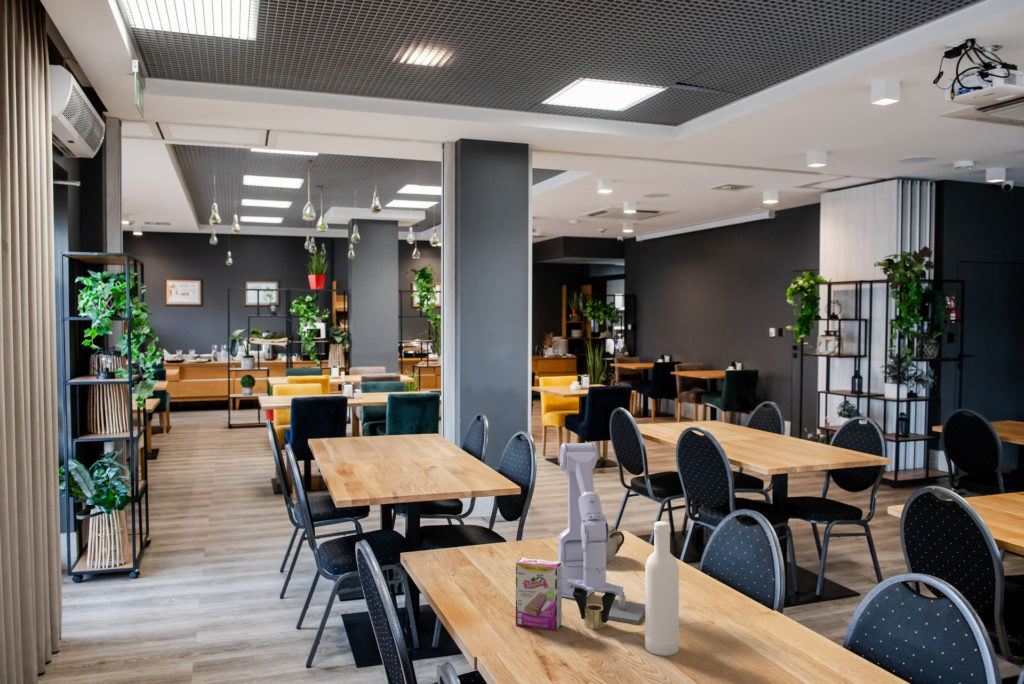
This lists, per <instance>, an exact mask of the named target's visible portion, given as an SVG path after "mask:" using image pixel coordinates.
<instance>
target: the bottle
mask: <svg viewBox="0 0 1024 684" xmlns="http://www.w3.org/2000/svg"><path fill="white" fill-rule="evenodd" d="M653 525H654V526H653V531H654V532H653V536H654V537H653V542H654V543H653V548H654V549H653V550H654V551H653V552H652V553H651V554H650V555H649V556H648V557H647V559H646V563H645V567H644V568H645V569H644V570H645V571H644V573H645V574H644V577H645V579H644V583H645V584H644V586H645V587H644V589H645V591H644V594H645V595H644V596H645V597H644V598H645V599H644V600H645V601H644V602H645V603H644V604H645V616H644V622H645V623H644V626H645V627H644V648H645V650H646V651H647V652H648V653H650V654H653V655H655V656H663V657H667V656H673V655H676V654H677V653H678V652H679V650H680V649H679V648H680V647H679V645H680V637H679V635H680V631H679V629H680V627H679V626H680V625H679V622H680V618H679V617H680V614H679V613H680V612H679V611H680V602H679V601H680V599H679V598H680V597H679V595H680V568H679V564H678V561H677V559H676V557H675V556H674V555H673V554H672V553H671V546H670V545H671V530H672V529H671V524H670V523H669V522H668V521H662V520H661V521H660V520H659V521H658V520H657V521H655V522H654V524H653Z"/></svg>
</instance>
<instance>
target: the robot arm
mask: <svg viewBox="0 0 1024 684" xmlns="http://www.w3.org/2000/svg"><path fill="white" fill-rule="evenodd" d="M598 455H599V454H598V447H597V445H596V443H595V442H593V441H592V442H581V443H580V442H577V443H575V442H574V443H573V442H571V443H566V442H563V443H561V445H560V447H559V467H560V470H561V471H564V472H565V474H566V483H567V484H566V485H567V486H566V487H567V488H566V489H567V492H566V493H567V528H565V529H564V530H563V531H561V533H560V534H558V538H557V545H556V547H557V548H556V549H557V550H556V551H557V552H556V553H557V557H558V560H557V562H562V598H569V599H574V600H575V602H576V604H577V607H578V610H579V614H580V618H581V619H582V620H584V607H585V606H586V605H588V604H587V599H588V597H590V595H591V594H592V593H593V592H594V593H595V592H596V593H600V594H603V595H602V596H601V605H602V604H603V623H605V624H607V622H608V621H609V620H608V617H609V612H610V609H611V606H612V603H613V601H614V599H615V598H616V597H618V598H619V597H621V596H622V595H623V592H624V586H620V585H616V584H614V583H610V582H607V563H606V543H605V541H606V542H608V540H609V527H608V525H609V523H608V520H607V519H606V515H604V514H603V508H602V505H601V504H602V502H601V498H600V495H598V494H597V493H595V485H594V474H593V470H594V469H595V468H596V466H597V462H598V458H599V457H598ZM615 600H616V599H615Z"/></svg>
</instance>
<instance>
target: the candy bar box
mask: <svg viewBox="0 0 1024 684" xmlns="http://www.w3.org/2000/svg"><path fill="white" fill-rule="evenodd" d="M562 598H563V597H562V562H558V560H557V561H555V560H549V559H548V560H547V559H538V558H530V557H521V558H519V559H518V560H517V561H516V562H515V625H516V626H522V627H527V628H536V629H543V630H547V631H548V630H550V631H555V632H557V630H558V629H559V628H560V626H561V625H562V622H563V621H562V614H563V613H562V600H563V599H562Z"/></svg>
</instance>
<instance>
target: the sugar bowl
mask: <svg viewBox="0 0 1024 684" xmlns="http://www.w3.org/2000/svg"><path fill="white" fill-rule="evenodd" d="M608 527H609V540H608V542H606V541H605V543H606V564H607V563H610V562H612V561H613V560H614V558H615V557H616V556H617V554H618V552H619V551H620V549H621V547H622V546H623V545H624V542H625V536H624V533H623V531H621V530H617V529H616V528H615V527H614V526H611V525H609V524H608Z"/></svg>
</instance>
